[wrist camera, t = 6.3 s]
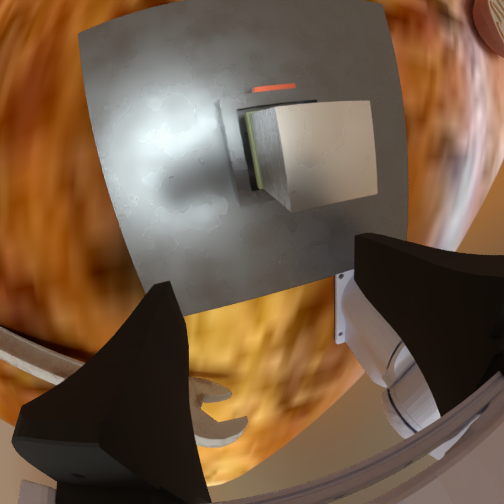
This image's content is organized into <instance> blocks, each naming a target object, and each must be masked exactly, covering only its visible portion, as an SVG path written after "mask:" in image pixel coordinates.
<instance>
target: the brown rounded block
mask: <svg viewBox="0 0 504 504" xmlns="http://www.w3.org/2000/svg"><path fill="white" fill-rule="evenodd" d="M473 20H474V24H475V27H476V29H477V31H478V33H479V35H480V36H481V38H482V39H483V41H484V42H485V43H486V44H487V45H488V46H489V47H490V48H491V49H492V50H493V51H494V52H495V53H497V54H498V55H500V56H502V57H503V58H504V0H475V2H474V7H473Z"/></svg>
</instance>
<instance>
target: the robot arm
mask: <svg viewBox="0 0 504 504" xmlns="http://www.w3.org/2000/svg"><path fill="white" fill-rule="evenodd" d="M340 274H342V275H341V276H340V277H339V275H340ZM340 274H337V275H335V342H336V343H337V344H341V343H343V342H346V344H347V345H348V347H349V348H350V349H351V351H352V352H353V354H354V355H355V357H356V358H357V360H358V361H359V363H360V364H361V366H362V367H363V369H364V370H365V372H366V373H367V375H368V376H369V377H370V379H371V380H372V381H374V382H375V383H376V384H378V385H381V386H383V387H386V389H385V390H384V392H383V394H382V401H383V410H384V412H385V415H386V417H387V419H388V420H389V422H390V424H391V425H392V427H393V428H394V429H395V430H396V431H397V432H398V433H399V434H400V435H401V436H402V437H403V438H404V439H405V440H404V441H402V442H400V443H398V444H396V445H395V446H393V447H391V448H389V449H387V450H385V451H383V452H381V453H379V454H377V455H375V456H373V457H371V458H368V459H367V460H364V461H362V462H360V463H358V464H355V465H353V466H350V467H349V468H346V469H343V470H341V471H338V472H335V473H333V474H330V475H328V476H325V477H322V478H319V479H316V480H313V481H310V482H307V483H304V484H300V485H297V486H294V487H290V488H287V489H283V490H279V491H275V492H271V493H267V494H262V495H257V496H253V497H247V498H243V499H236V500H230V501H223V502H215V503H212V502H211V498H210V496H209V492H208V489H207V485H206V482H205V478H204V475H203V471H202V467H201V463H200V459H199V454H198V450H197V445H196V440H195V435H194V429H193V424H192V417H191V411H190V402H189V345H188V336H187V329H186V323H185V320H184V318H183V315H182V312H181V310H180V307H179V304H178V302H177V299H176V296H175V293H174V291H173V288H172V285H171V282H170V281H166V282H162V283H157V284H154V285H153V286H152V287H151V289H150V290H149V291H148V292H147V294H146V295H145V296H144V298H143V299H142V300H141V302H140V303H139V304H138V306H137V307H136V308H135V310H134V311H133V313H132V314H131V315H130V316H129V318H128V319H127V320H126V321H125V322H124V324H123V325H122V326H121V327H120V329H119V330H118V331H117V332H116V333H115V335H114V336H113V337H112V338H111V339H110V340H109V341H108V342H107V343H106V344H105V345H104V346H103V347H102V348H101V349H100V350H99V351H98V352H97V353H96V354H95V355H94V356H93V357H92V358H91V359H90V360H88V361H87V362H86V363H85V364H84V365H83V366H82V367H80V368H79V369H78V370H77V371H76V372H74V373H73V374H72V375H71V376H69V377H68V378H67V379H65V380H64V381H62V382H61V383H59V384H58V385H57V386H55V387H54V388H52V389H51V390H49V391H47V392H46V393H44V394H42V395H41V396H39V397H37V398H35V399H34V400H32V401H30V402H28V403H26V404H25V405H23V406H22V407H21V410H20V413H19V416H18V420H17V423H16V427H15V430H14V434H13V437H12V444H13V446H14V448H15V450H16V451H17V452H18V453H19V455H20V456H21V457H23V458H24V459H25V460H26V461H27V462H29V463H30V464H31V465H33V466H34V467H36V468H37V469H39V470H40V471H41V472H43V473H45V474H46V475H48V476H49V477H51V478H52V479H54V480H55V481H57V489H53V488H51V487H48V486H45V485H41V484H38V483H34V482H30V481H27V480H21V484H20V491H19V500H18V504H327V503H330V502H333V501H336V500H338V499H341V498H343V497H346V496H348V495H351V494H353V493H356V492H358V491H360V490H362V489H364V488H367V487H369V486H371V485H373V484H375V483H377V482H379V481H381V480H383V479H385V478H387V477H389V476H391V475H393V474H395V473H397V472H399V471H400V470H402V469H404V468H406V467H407V466H409V465H411V464H413V463H414V462H416V461H417V460H419V459H421V458H422V457H424V456H425V455H427V454H429V455H431V456H433V457H434V458H435V459H437V460H438V461H437V462H436V463H434V464H433V465H431V466H430V467H428V468H427V469H425V470H424V471H422V472H421V473H419V474H417V475H416V476H414V477H413V478H411V479H409V480H408V481H406V482H404V483H402V484H401V485H399V486H398V487H396V488H394V489H392V490H390V491H388V492H387V493H385V494H383V495H381V496H379V497H377V498H375V499H373V500H371V501H369V502H367V503H365V504H504V255H477V254H466V253H458V252H452V251H446V250H441V249H436V248H432V247H428V246H423V245H419V244H416V243H412V242H408V241H404V240H401V239H397V238H393V237H389V236H385V235H381V234H376V233H368V232H367V233H363V234H359V235H355V236H354V269H353V270H349V271H346V272H343V273H340Z"/></svg>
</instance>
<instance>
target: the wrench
mask: <svg viewBox="0 0 504 504" xmlns="http://www.w3.org/2000/svg"><path fill="white" fill-rule="evenodd" d="M0 359H2V360H4V361H6V362H8V363H10V364H12V365H14V366H16V367H17V368H20V369H22V370H24V371H26V372H28V373H30V374H32V375H34V376H37V377H39V378H41V379H43V380H46V381H48V382H50V383H53V384H55V385H58V384H59V383H61V382H62V381H64V380H65V379H67V378H68V377H69V376H71V375H72V374H73V373H74V372H76V371H77V370H78V369H79V368H80V367H82V366H83V365H84V364H85V363H84V362H81V361H78V360H76V359H73V358H70V357H68V356H65V355H62V354H60V353H57V352H55V351H52V350H50V349H48V348H45V347H43V346H40V345H38V344H36V343H34V342H31V341H29V340H27V339H25V338H23V337H20V336H18V335H16V334H14V333H13V332H11V331H9V330H7V329H5V328H3V327H1V326H0ZM231 395H232V392H231V391H230V389H228V388H226V387H224V386H222V385H220V384H217V383H215V382H212V381H209V380H206V379H202V378H196V377H190V376H189V402H190V411H191V417H192V424H193V429H194V435H195V440H196V445H199V446H203V447H223V446H226V445H228V444H231V443H233V442H235V441H236V440H237V439H238V438H239V437H240V436H241V435H242V433H243V431H244V429H245V427H246V425H247V423H248V419H247V416H245V417H241V418H237V419H232V420H228V421H223V422H217V421H216V420H214V419H213V418H212V417H210V416H209V415H208V414H206V413H205V412H204V411H202V410H201V406H202V403H203V402H204V403H212V402H220V401H223V400H226V399H229V398H230V397H231Z"/></svg>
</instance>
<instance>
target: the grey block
mask: <svg viewBox="0 0 504 504" xmlns="http://www.w3.org/2000/svg"><path fill="white" fill-rule="evenodd" d="M244 116H245V122H246V127H247V132H248V138H249V143H250V148H251V154H252V159H253V165H254V170H255V176H256V181H257V187H258V188H259V189H264V190H266V191H267V192H268V193H269V194H270V195H272V196H273V197H274V198H275V199H276V200H277V201H279V202H280V203H281V204H282V205H283V206H285V207H286V208H287V209H288V210H289V211H290V212H291V213H292V212H297V211H301V210H305V209H310V208H314V207H319V206H323V205H328V204H332V203H337V202H342V201H346V200H351V199H356V198H361V197H365V196H370V195H375V194H378V190H377V168H376V154H375V142H374V131H373V122H372V114H371V106H370V101H335V102H319V103H307V104H296V105H287V106H278V107H273V108H269V109H265V110H258V111H252V112H246V113H244Z"/></svg>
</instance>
